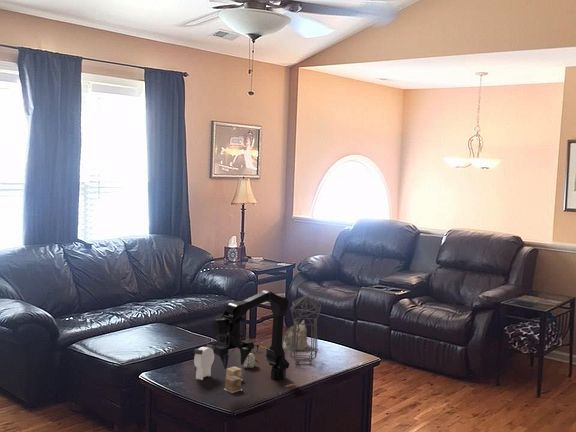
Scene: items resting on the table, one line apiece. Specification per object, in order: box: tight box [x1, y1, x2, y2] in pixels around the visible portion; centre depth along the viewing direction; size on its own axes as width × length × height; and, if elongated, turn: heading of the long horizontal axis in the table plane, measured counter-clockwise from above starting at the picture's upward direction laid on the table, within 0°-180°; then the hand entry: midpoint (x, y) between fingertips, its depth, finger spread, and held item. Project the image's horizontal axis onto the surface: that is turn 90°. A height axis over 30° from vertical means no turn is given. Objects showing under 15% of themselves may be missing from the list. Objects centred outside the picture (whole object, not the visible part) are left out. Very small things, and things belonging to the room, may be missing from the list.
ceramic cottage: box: [282, 319, 309, 351], centre depth 344 cm, size 16×16×15 cm
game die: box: [242, 352, 259, 369], centre depth 303 cm, size 9×8×10 cm
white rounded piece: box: [193, 344, 215, 381], centre depth 286 cm, size 12×11×15 cm
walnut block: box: [224, 376, 242, 393], centre depth 272 cm, size 5×5×5 cm
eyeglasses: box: [239, 344, 269, 363], centre depth 323 cm, size 14×14×4 cm
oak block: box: [225, 366, 243, 379], centre depth 284 cm, size 5×5×5 cm
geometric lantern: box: [289, 295, 322, 366], centre depth 314 cm, size 16×16×35 cm
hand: (233, 366), depth 271 cm, fingers open, 9 cm apart
